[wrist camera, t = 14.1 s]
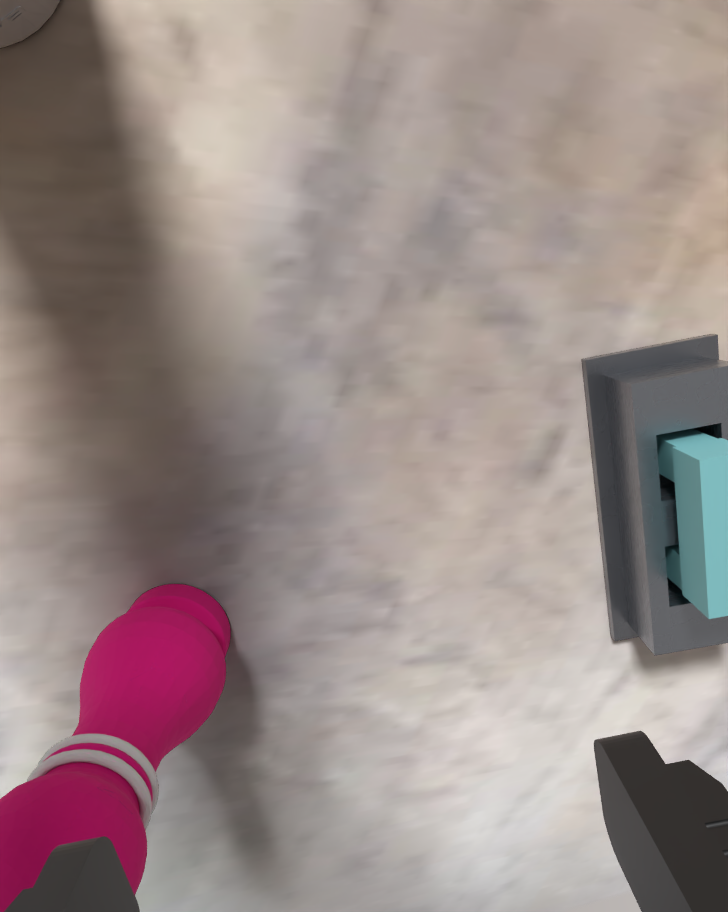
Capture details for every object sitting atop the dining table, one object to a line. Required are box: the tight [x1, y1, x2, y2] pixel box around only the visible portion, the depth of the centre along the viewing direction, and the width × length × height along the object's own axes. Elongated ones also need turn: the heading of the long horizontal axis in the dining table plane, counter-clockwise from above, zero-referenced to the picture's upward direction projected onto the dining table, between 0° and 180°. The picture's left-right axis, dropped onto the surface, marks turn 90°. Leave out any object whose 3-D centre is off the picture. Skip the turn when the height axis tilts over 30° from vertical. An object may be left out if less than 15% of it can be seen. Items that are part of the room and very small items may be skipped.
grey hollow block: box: [582, 334, 728, 655], centre depth 34 cm, size 17×7×4 cm, turn 11°
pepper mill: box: [0, 584, 230, 912], centre depth 28 cm, size 7×7×20 cm
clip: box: [656, 429, 728, 619], centre depth 32 cm, size 8×2×6 cm, turn 11°
